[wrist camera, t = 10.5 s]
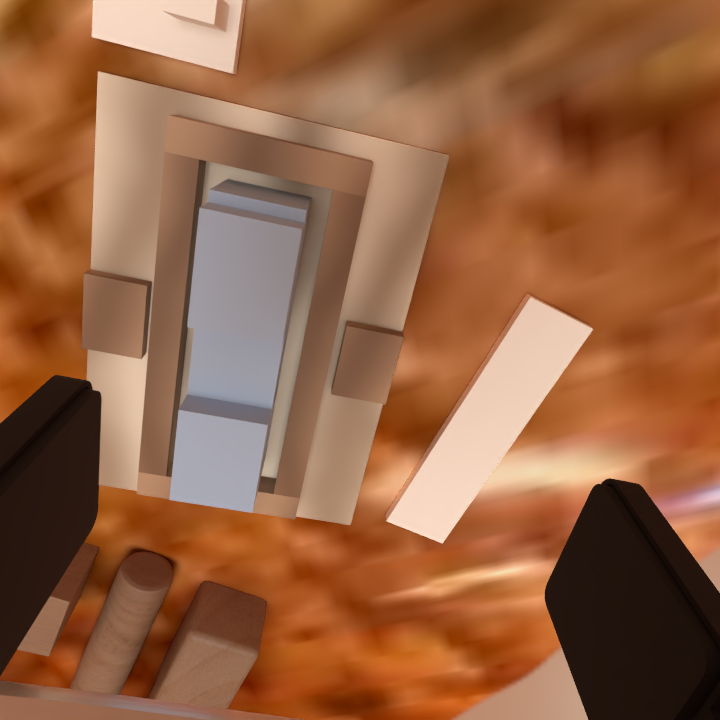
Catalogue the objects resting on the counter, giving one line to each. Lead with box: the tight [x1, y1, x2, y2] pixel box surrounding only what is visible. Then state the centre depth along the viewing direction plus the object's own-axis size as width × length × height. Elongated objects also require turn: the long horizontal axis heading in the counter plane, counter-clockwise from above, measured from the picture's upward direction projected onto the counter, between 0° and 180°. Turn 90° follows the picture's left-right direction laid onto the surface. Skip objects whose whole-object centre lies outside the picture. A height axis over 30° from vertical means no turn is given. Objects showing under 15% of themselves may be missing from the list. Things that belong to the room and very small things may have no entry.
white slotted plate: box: [92, 0, 246, 75], centre depth 23 cm, size 6×4×4 cm, turn 77°
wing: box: [386, 294, 593, 543], centre depth 33 cm, size 4×16×1 cm, turn 153°
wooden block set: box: [17, 543, 266, 709], centre depth 37 cm, size 17×6×18 cm
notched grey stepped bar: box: [169, 179, 312, 513], centre depth 28 cm, size 16×4×6 cm, turn 168°
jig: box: [82, 71, 450, 525], centre depth 30 cm, size 16×22×2 cm
